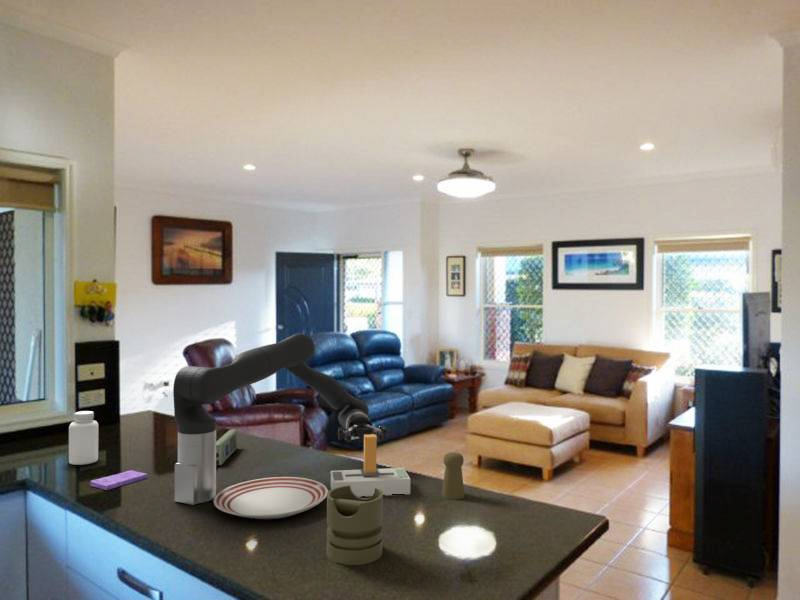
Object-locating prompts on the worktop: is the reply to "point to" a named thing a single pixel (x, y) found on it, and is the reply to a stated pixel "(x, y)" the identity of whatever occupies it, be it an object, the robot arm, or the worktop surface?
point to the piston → (354, 526)
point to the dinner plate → (271, 497)
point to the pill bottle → (83, 439)
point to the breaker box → (373, 481)
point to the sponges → (118, 480)
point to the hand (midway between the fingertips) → (365, 438)
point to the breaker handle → (370, 456)
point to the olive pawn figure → (453, 477)
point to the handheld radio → (225, 446)
